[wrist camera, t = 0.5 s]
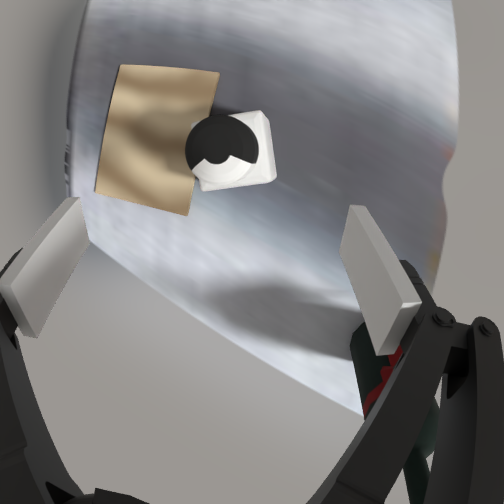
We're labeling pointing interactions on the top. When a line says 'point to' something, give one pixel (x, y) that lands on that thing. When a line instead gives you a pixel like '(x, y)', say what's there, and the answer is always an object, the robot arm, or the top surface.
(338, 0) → the top surface
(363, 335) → the wine bottle
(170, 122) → the cork mat
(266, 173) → the medicine bottle
